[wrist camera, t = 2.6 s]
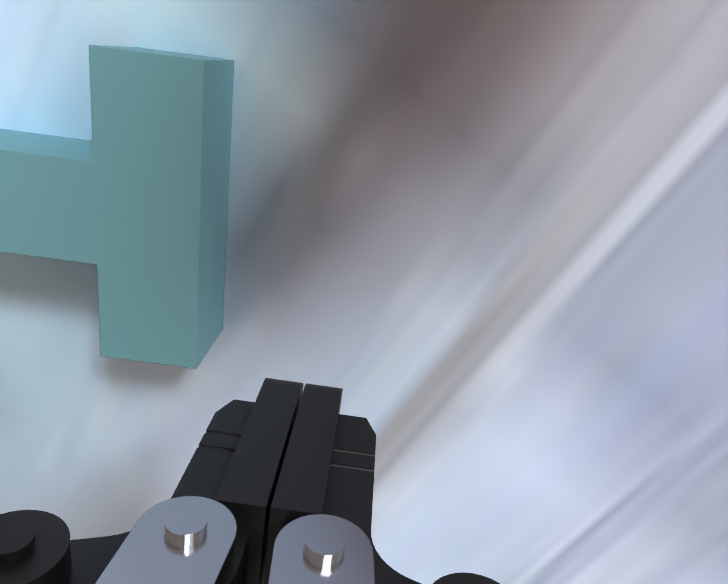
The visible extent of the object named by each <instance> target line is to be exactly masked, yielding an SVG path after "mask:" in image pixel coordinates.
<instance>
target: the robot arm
mask: <svg viewBox="0 0 728 584" xmlns="http://www.w3.org/2000/svg"><path fill="white" fill-rule="evenodd" d="M342 390H343V389H342V388H335V387H328V386H320V385H313V384H306V385H305V388H304V391H303V383H298V382H291V381H284V380H277V379H270V378H266V379H265V380H264V382H263V385H262V387H261V390H260V392H259V394H258V397H257V399H256V402H248V401H241V400H233V401H231V402H230V403H228V404H227V405H226V406H224V407H223V408H221V409H220V410H219V411H217V412H216V413H215V414H214V416H213V418H212V420H211V422H210V424H209V426H208V428H207V430H206V433H205V434H204V436H203V438H202V440H201V442H200V444H199V448H197V449H196V451H195V453H194V455H193V457H192V459H191V461H190V463H189V465H188V467H187V469H186V471H185V473H184V474H183V476H182V478H181V480H180V482H179V484H178V486H177V488H176V490H175V492H174V494H173V496H172V498H171V499H169V500H166V501H163V502H161V503H159V504H157V505H155V506H153V507H152V508H150V509H149V510H148V511H146V512H145V513H144V514H143V515H142V516H141V518H140V519H139V520H138V521H137V523H136V524H135V526H134V527H133V529H132V530H131V531H130V532H126V533H123V534H119V535H113V536H107V537H97V538H88V539H79V540H70V532H69V529H68V527H67V525H66V523H65V522H64V521H63V520H62V519H61V518H59V517H57V516H56V515H54V514H51V513H48V512H44V511H38V510H19V511H13V512H8V513H4V514H0V584H421V583H418V582H416V581H414V580H411V579H409V578H407V577H405V576H403V575H401V574H399V573H398V572H396V571H395V570H393V569H392V568H391V567H390V566H389V565H387V564H386V563H385V562H384V561H383V559H382V558H381V557H380V556H379V554H378V553H377V551H376V549H375V547H374V545H373V542H372V538H371V520H372V501H373V483H374V465H375V447H376V434H375V432H374V431H373V429H372V427H371V426H370V424H369V422H368V420H367V419H366V418H362V417H355V416H348V415H341V414H339V413H340V406H341V398H342ZM433 584H500V583H498V582H496V581H494V580H492V579H490V578H487V577H484V576H482V575H477V574H473V573H454V574H449V575H446V576H444V577H441V578H440V579H438V580H437V581H435V582H434V583H433Z"/></svg>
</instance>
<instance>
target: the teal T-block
mask: <svg viewBox="0 0 728 584" xmlns="http://www.w3.org/2000/svg"><path fill="white" fill-rule="evenodd" d="M89 62H90V89H91V116H92V141H86V140H79V139H71V138H64V137H56V136H49V135H41V134H34V133H26V132H19V131H11V130H4V129H0V252H7V253H15V254H22V255H29V256H37V257H44V258H52V259H59V260H66V261H74V262H81V263H88V264H96V265H97V277H98V304H99V331H100V356H106V357H114V358H121V359H128V360H136V361H143V362H150V363H157V364H165V365H172V366H179V367H187V368H194V369H196V368H197V367H198V365H199V364H200V362H201V361H202V359H203V358H204V356H205V355H206V353H207V351H208V350H209V348H210V347H211V345H212V344H213V342H214V341H215V339H216V338H217V336H218V335H219V333H220V332H221V330H222V328H223V304H224V281H225V258H226V234H227V211H228V187H229V164H230V140H231V117H232V93H233V70H234V60H229V59H221V58H214V57H206V56H198V55H191V54H183V53H176V52H168V51H161V50H153V49H145V48H138V47H119V46H96V45H89Z"/></svg>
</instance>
